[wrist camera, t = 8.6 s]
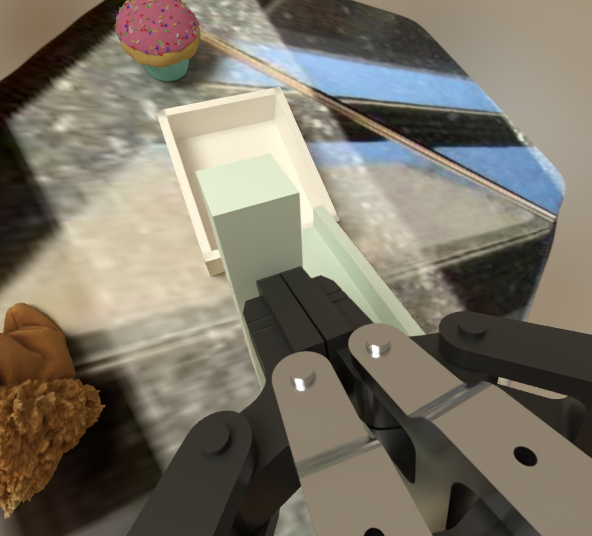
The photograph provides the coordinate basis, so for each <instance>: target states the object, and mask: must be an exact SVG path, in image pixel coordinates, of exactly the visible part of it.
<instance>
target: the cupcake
mask: <svg viewBox="0 0 592 536" xmlns="http://www.w3.org/2000/svg"><path fill="white" fill-rule="evenodd" d="M120 8H121V7H120ZM116 17H117V18H116V23H115V27H116V33H117V35H118V37H119V39H120V42H121V45H122V48H123V49H124V51H125V52H126V53H127V54H129V55H130V56H131V57H132V58H133V59H134V60H135V61H136V62H138V63H139V64H142V65H144V67H145V68H146V69H147V71H148V72H149V73H150V75H152V76H153V77H154V78H156V79H158V80H161V81H175V80H178V79H180V78H182V77H183V76H184V75H185V74H186V72H187V70H188V64H189V59H190V58H191V57H192V56H193V55H194V54H195V53H196V51H197V49H198V45H199V40H200V28H199V23H198V19H196V17H195V15H194V13H192V11H191V10H190V9H189V7H187V5H186V4H185V3H182V1H181V0H127V1H126V2H125V4H124V5H123V6H122V8H121V9H120V10H119V13H116Z"/></svg>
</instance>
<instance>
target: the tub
mask: <svg viewBox="0 0 592 536" xmlns="http://www.w3.org/2000/svg"><path fill="white" fill-rule="evenodd" d="M156 113H157V116H158V119H159V122H160V125H161V128H162V131H163V134H164V137H165V140H166V143H167V147H168V150H169V153H170V156H171V159H172V162H173V165H174V168H175V171H176V174H177V177H178V180H179V183H180V186H181V189H182V192H183V196H184V199H185V202H186V205H187V208H188V211H189V214H190V217H191V220H192V223H193V226H194V229H195V232H196V235H197V238H198V242H199V245H200V248H201V251H202V254H203V257H204V260H205V263H206V265H207V268H208V271H209V273H210V276H213V275H217V274H220V273H223V272H225V270H224V266H223V263H222V260H221V256H220V253H219V250H218V246H217V243H216V239H215V236H214V233H213V229H212V226H211V223H210V219H209V216H208V213H207V209H206V206H205V203H204V199H203V196H202V192H201V189H200V186H199V182H198V179H197V176H196V172H195V171H199V170H203V169H207V168H211V167H215V166H220V165H224V164H228V163H232V162H236V161H240V160H244V159H249V158H253V157H257V156H261V155H265V154H269V153H271V155H272V156H273V157H274V159H275V160H276V161H277V163H278V164H279V165H280V167H281V168H282V170H283V171H284V172H285V174H286V175H287V176H288V178H289V179H290V180H291V182H292V183H293V184H294V186H295V187H296V188H297V190H298V191H299V192H300V213H301V230H302V229H305V228H308V227H312V226H313V208H314V207H317V206H320V205H323V206H324V207H325V208H326V210H327V211H328V212H329V213H330V215H331V216H332V217H333V218H334V220H335V221H336V222H337V223H339V222H340V220H339V218H338V215H337V213H336V211H335V209H334V206H333V204H332V202H331V200H330V197H329V195H328V193H327V191H326V188H325V186H324V184H323V182H322V179H321V177H320V175H319V173H318V170H317V168H316V166H315V164H314V161H313V159H312V157H311V155H310V152H309V150H308V148H307V146H306V143H305V141H304V139H303V137H302V134H301V132H300V130H299V128H298V125H297V123H296V121H295V119H294V116H293V114H292V112H291V110H290V107H289V105H288V103H287V101H286V98H285V96H284V94H283V92H282V89H281V87H276V88H271V89H266V90H261V91H256V92H251V93H246V94H241V95H235V96H230V97H225V98H220V99H215V100H210V101H205V102H199V103H194V104H189V105H184V106H179V107H174V108H169V109H164V110H158V111H156Z"/></svg>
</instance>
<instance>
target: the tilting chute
mask: <svg viewBox="0 0 592 536" xmlns="http://www.w3.org/2000/svg"><path fill="white" fill-rule="evenodd" d="M195 172H196V176H197V179H198V182H199V186H200V189H201V192H202V196H203V199H204V203H205V206H206V209H207V213H208V216H209V219H210V223H211V226H212V229H213V233H214V236H215V239H216V243H217V246H218V250H219V253H220V256H221V260H222V263H223V266H224V270H225V273H226V276H227V280H228V283H229V286H230V290H231V293H232V296H233V300H234V303H235V307H236V310H237V313H238V317H239V320H240V323H241V327H242V330H243V333H244V337H245V340H246V343H247V347H248V350H249V353H250V357H251V360H252V363H253V366H254V369H255V372H256V375H257V378H258V380H259V383H260V386H261V389H262V390H263V388H264V385H265V382H266V379H265V377H264V374H263V371H262V369H261V366H260V363H259V361H258V358H257V356H256V353H255V350H254V347H253V344H252V341H251V338H250V335H249V331H248V328H247V325H246V322H245V319H244V315H243V309H244V305H245V301H247V300H250V299H253V298H256V297H258V296H259V292H258V289H257V285H256V281H257V280H260V279H263V278H266V277H269V276H272V275H275V274H279V273H281V272H284V271H287V270H290V269H293V268H296V267H299V266H301V267H302V268H303V269H304V270H305V271H306V272H307V273H308V275H309V276H310V277H311V278H314V277H316V276H319V275H322V276H324V277H326V278H329V279H331V280H334V281H335V283H336V284H337V285H338V286H339V287H340V288H341V289H342V291H344V292H345V293H346V294H347V295H348V296H349V298H351V299H352V300H353V301H354V302H355V304H356V305H357V306H358V307H359V308H360V309H361V310H362V311H363V312H364V313H365V314H366V315H367V316H368V317H369V318H370V319H371V320H372V321H373V322H374V323H381V324H387V325H391V326H393V327H396V328H397V329H399V330H400V331H402V332H403V333H404V334H405V335H407V336H419V335H426V334H425V333H424V332H423V331H422V329H421V328H420V327H419V325H418V324H417V323H416V322H415V320H414V319H413V318H412V317H411V315H410V314H409V313H408V312H407V310H406V309H405V308H404V307H403V305H402V304H401V303H400V302H399V300H398V299H397V298H396V297H395V295H394V294H393V293H392V291H391V290H390V289H389V288H388V286H387V285H386V284H385V283H384V281H383V280H382V279H381V278H380V276H379V275H378V274H377V273H376V271H375V270H374V269H373V268H372V266H371V265H370V264H369V263H368V261H367V260H366V259H365V257H364V256H363V255H362V254H361V252H360V251H359V250H358V249H357V247H356V246H355V245H354V244H353V242H352V241H351V240H350V239H349V237H348V236H347V235H346V234H345V232H344V231H343V230H342V229H341V227H340V226H339V225H338V223H337V222H336V221H335V220H334V218H333V217H332V216H331V215H330V213H329V212H328V211H327V210H326V208H325V207H324V206H323V205H320V206H317V207H314V208H313V226H312V227H308V228H305V229H302V230H301V213H300V192H299V191H298V190H297V188H296V187H295V186H294V184H293V183H292V182H291V180H290V179H289V178H288V176H287V175H286V174H285V172H284V171H283V170H282V168H281V167H280V165H279V164H278V163H277V161H276V160H275V159H274V157H273V156H272V155H271V153H269V154H265V155H261V156H257V157H253V158H249V159H244V160H240V161H236V162H232V163H228V164H224V165H220V166H215V167H211V168H207V169H203V170H199V171H195Z"/></svg>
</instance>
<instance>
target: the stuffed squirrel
mask: <svg viewBox="0 0 592 536" xmlns="http://www.w3.org/2000/svg"><path fill="white" fill-rule="evenodd" d="M75 378H76V374H75V369H74V366H73V362H72V359H71V356H70V354H69V351H68V348H67V345H66V340H65V336H64V334H63V333H62V332H61V331H60V330H59V329H58V328H57V327H56V326H55V324H53V323H52V322H51V321H50V320H49V319H48V318H47V317H46V316H45V315H43V314H42V313H41V312H39V311H38V310H36V309H35V308H33V307H31V306H29V305H27V304H25V303H17V304H15V305H14V306H13V307H11V308H9V309H8V311H7V313H6V317H5V323H4V333H0V506H2V507H3V509H4V510H5V511H4V512H5V519H6V518H7V517H11V515H12V513H13V511H14V510H15V509H16V507H17V506H18V505H19V503H20V501H21V500H22V501H23V503H24V501H25V500H26V499H27V500H29V501H31V496H33V494H35V493H37V492H40V491H41V490H42V489H44V486H45V485H47V483H48V481H50V480H51V477H52V476H53V474H54V471H55V470H56V469H57V465H58V463H59V461H60V460H61V457H62V455H63V453H66V452H68V451H69V450H70V449H73V448H74V446H76V445H77V444H78V443H79V439H80V438H81V436H82V435H83V434H84V433H86V429H87V428H89V427H91V426H93V424H94V423H95V422H98V420H97V418H98V417H99V416H100V413H101V412H102V410H103V408H104V407H105V405H100V404H101V401H100V397H99V394H98V393H99V392H100V391H99V390H96V389H95V388H94V386H90V385H89V384H86V385H83V383H81V381H80V380H79V379H76V381H75Z"/></svg>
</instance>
